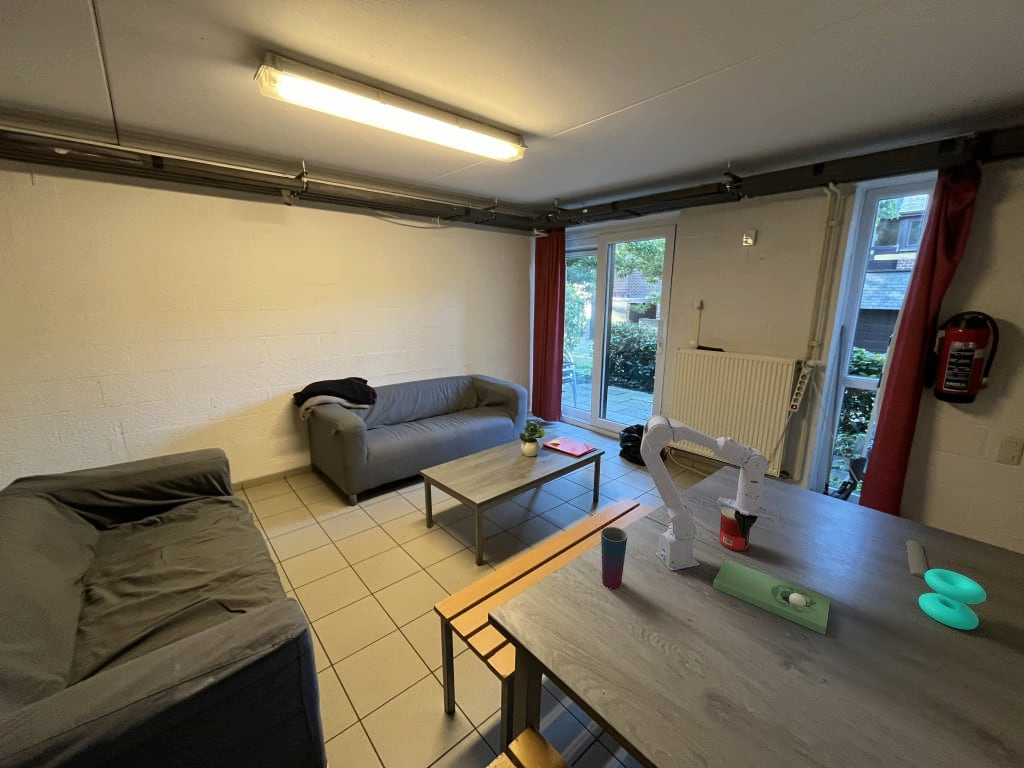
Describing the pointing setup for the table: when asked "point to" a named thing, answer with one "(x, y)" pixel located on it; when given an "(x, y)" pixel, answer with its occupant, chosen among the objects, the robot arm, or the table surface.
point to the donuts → (952, 598)
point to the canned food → (731, 531)
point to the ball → (797, 600)
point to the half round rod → (916, 559)
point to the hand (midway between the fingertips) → (743, 536)
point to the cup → (613, 556)
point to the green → (773, 595)
